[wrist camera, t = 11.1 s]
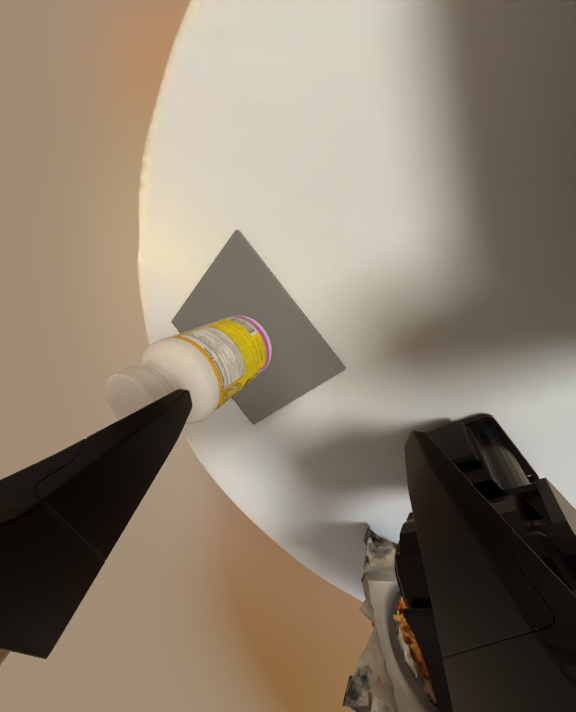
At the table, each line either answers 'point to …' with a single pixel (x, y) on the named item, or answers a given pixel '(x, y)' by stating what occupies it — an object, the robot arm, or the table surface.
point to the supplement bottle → (194, 367)
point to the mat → (274, 313)
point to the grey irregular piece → (387, 644)
